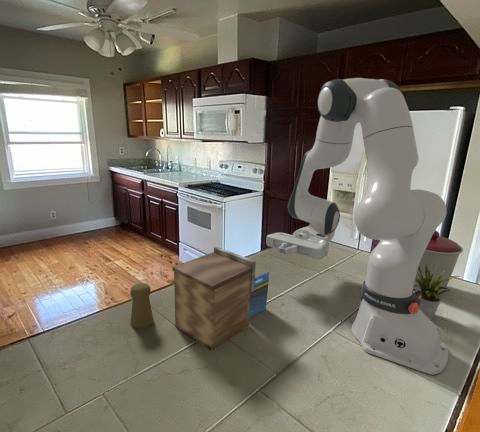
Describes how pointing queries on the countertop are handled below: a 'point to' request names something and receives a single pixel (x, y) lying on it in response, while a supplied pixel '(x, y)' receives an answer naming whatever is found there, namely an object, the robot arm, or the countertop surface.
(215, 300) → the storage box
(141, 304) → the cork
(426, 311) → the house plant
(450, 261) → the canister
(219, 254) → the sliding lid
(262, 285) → the label tape box
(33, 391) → the countertop surface
